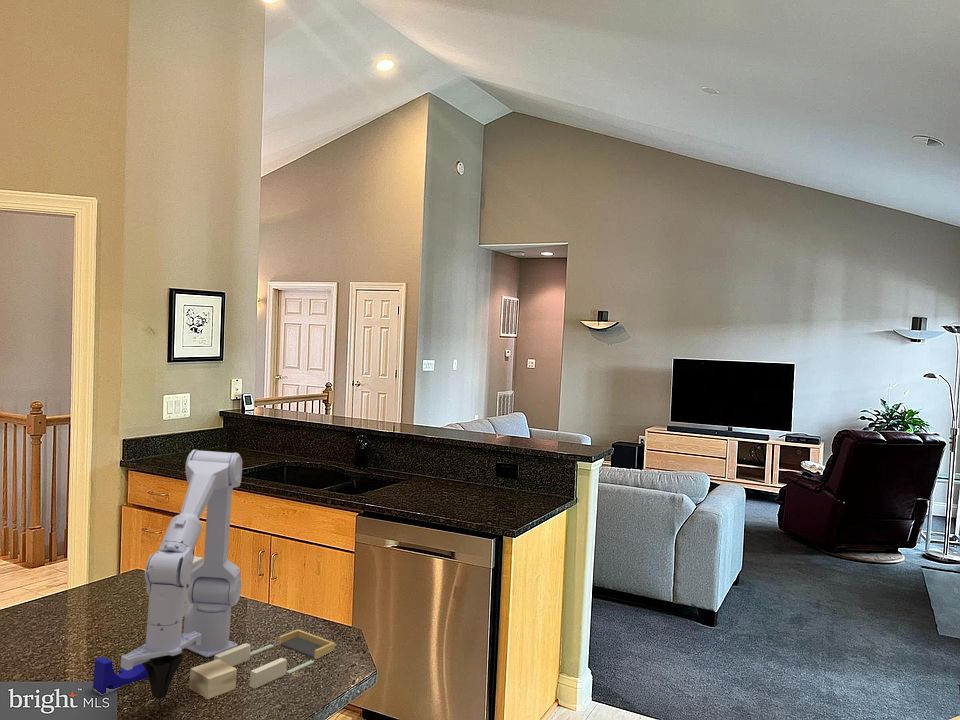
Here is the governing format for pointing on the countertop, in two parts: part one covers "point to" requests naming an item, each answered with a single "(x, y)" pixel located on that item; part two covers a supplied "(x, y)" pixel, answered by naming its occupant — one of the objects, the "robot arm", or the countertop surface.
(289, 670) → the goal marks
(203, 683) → the beech block
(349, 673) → the countertop surface
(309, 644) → the open-sided tray
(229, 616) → the robot arm
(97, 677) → the blue arch block
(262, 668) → the cream parallel guide rails
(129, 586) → the countertop surface
